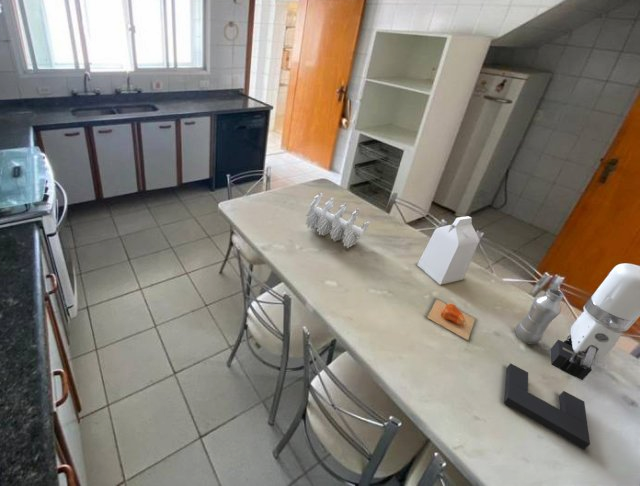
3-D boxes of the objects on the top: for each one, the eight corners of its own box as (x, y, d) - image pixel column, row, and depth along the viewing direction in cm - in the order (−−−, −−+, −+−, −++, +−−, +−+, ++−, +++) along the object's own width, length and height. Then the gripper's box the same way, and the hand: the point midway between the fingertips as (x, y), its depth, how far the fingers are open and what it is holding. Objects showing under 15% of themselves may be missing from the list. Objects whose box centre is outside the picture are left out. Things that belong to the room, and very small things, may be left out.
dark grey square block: (580, 363, 84) (589, 353, 82) (582, 380, 80) (592, 370, 78) (550, 349, 87) (558, 338, 85) (550, 364, 83) (559, 354, 81)
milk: (439, 260, 139) (462, 208, 127) (463, 279, 129) (490, 224, 117) (417, 265, 135) (439, 211, 123) (440, 284, 126) (466, 228, 114)
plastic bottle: (540, 340, 105) (573, 295, 96) (532, 350, 102) (566, 304, 93) (517, 326, 110) (546, 281, 101) (509, 335, 106) (539, 289, 97)
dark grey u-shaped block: (579, 406, 87) (584, 401, 86) (584, 449, 78) (590, 444, 77) (506, 368, 96) (510, 362, 94) (503, 403, 86) (507, 397, 85)
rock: (467, 340, 103) (473, 331, 101) (426, 317, 111) (431, 308, 109) (475, 319, 111) (480, 310, 109) (436, 299, 119) (440, 290, 117)
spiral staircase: (350, 260, 141) (301, 232, 155) (370, 231, 149) (321, 207, 162) (353, 237, 128) (299, 209, 142) (374, 207, 135) (321, 183, 149)
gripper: (640, 348, 67) (590, 399, 75) (624, 300, 79) (583, 349, 87) (591, 326, 71) (548, 378, 79) (583, 285, 83) (547, 333, 91)
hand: (567, 362), depth 83 cm, fingers closed on dark grey square block, 6 cm apart
